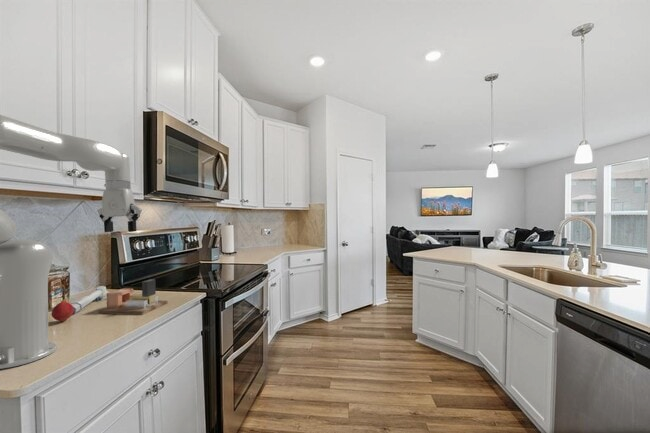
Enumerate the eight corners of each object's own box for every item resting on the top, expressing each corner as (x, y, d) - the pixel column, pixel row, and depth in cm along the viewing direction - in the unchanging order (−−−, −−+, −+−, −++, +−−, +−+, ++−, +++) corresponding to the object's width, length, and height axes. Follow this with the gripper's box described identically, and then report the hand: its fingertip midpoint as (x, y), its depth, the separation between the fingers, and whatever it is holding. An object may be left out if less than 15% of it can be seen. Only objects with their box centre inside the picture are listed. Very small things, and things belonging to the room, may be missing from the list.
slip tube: (148, 304, 110) (148, 281, 111) (128, 303, 111) (127, 281, 112) (156, 300, 115) (156, 279, 115) (136, 300, 116) (136, 279, 116)
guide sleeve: (144, 308, 109) (143, 301, 109) (125, 308, 110) (125, 300, 110) (158, 302, 117) (158, 295, 117) (141, 302, 117) (140, 295, 118)
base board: (142, 314, 106) (142, 311, 106) (98, 313, 108) (98, 310, 108) (167, 303, 119) (167, 300, 119) (128, 302, 122) (128, 299, 122)
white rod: (60, 306, 105) (97, 283, 129) (62, 323, 106) (99, 296, 130) (76, 305, 106) (110, 282, 131) (78, 321, 107) (111, 295, 131)
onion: (54, 326, 95) (54, 303, 95) (49, 323, 98) (49, 300, 98) (76, 320, 100) (76, 298, 100) (70, 317, 103) (70, 296, 103)
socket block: (118, 308, 110) (117, 293, 110) (106, 307, 111) (106, 293, 111) (133, 302, 118) (133, 288, 118) (123, 301, 118) (123, 288, 118)
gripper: (87, 186, 100) (90, 233, 100) (131, 184, 98) (133, 232, 98) (106, 187, 107) (108, 231, 108) (147, 186, 105) (149, 230, 106)
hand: (120, 231), depth 103 cm, fingers open, 9 cm apart
